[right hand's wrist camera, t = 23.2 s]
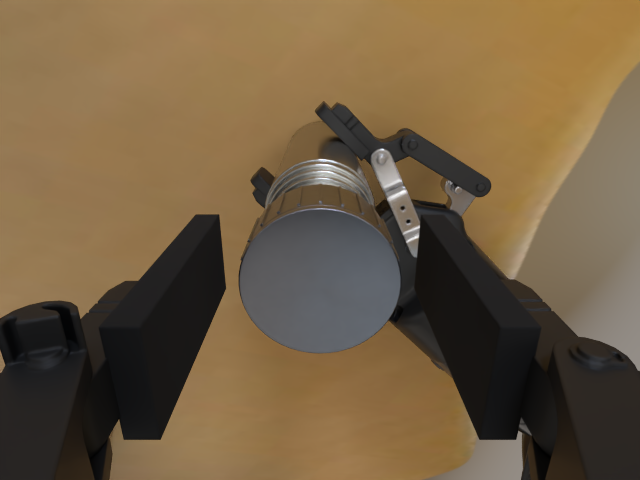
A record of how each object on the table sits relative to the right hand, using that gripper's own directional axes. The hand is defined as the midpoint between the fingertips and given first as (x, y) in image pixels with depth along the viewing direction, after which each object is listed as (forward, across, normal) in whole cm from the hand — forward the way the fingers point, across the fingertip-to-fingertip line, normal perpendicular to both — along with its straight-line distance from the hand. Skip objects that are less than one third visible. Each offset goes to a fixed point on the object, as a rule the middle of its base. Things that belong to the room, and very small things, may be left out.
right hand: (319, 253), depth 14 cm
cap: (-2, 0, 0) cm, 2 cm away
